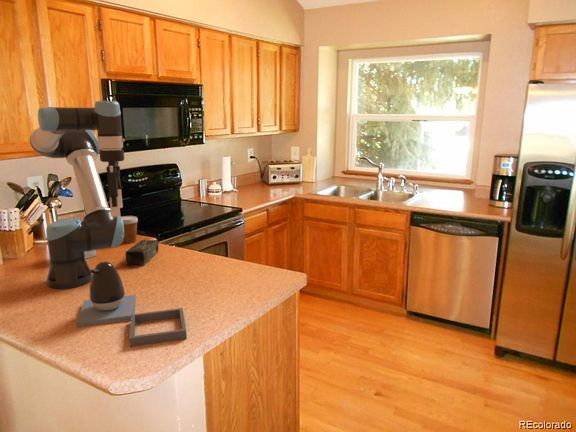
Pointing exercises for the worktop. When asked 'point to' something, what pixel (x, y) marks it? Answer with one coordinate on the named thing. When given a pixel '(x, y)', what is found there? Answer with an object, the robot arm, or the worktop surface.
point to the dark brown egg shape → (106, 287)
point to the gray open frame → (161, 335)
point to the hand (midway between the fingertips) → (117, 211)
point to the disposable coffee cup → (130, 229)
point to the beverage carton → (141, 252)
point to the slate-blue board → (106, 312)
